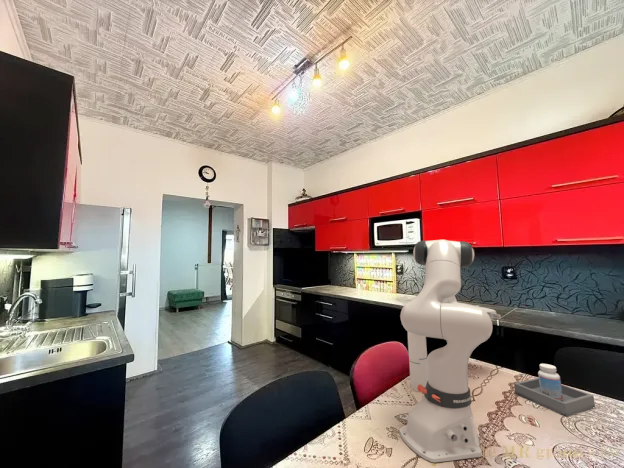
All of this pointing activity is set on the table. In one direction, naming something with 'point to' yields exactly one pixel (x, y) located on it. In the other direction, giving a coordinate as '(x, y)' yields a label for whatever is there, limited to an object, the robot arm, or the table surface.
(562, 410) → the tray
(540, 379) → the pill bottle
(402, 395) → the table surface
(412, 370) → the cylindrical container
